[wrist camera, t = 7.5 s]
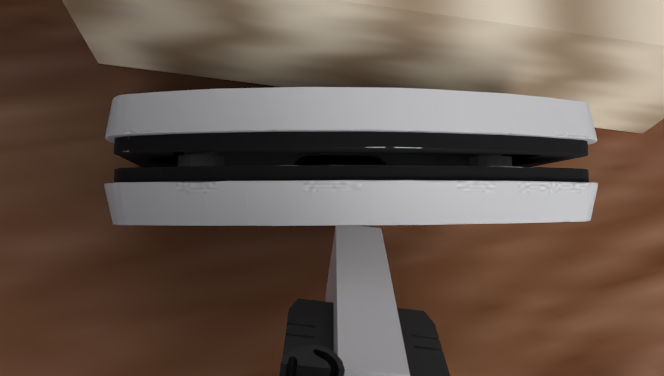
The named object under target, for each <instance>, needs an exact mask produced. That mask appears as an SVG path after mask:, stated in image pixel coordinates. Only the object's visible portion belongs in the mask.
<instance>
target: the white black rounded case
mask: <svg viewBox="0 0 664 376" xmlns="http://www.w3.org/2000/svg"><path fill="white" fill-rule="evenodd" d="M105 139H106V140H107V141H109V142H111V143H113V144H114V153H115V154H117V155H119V156H121V157H123V158H125V159H127V160H129V161H131V162H133V163H135V164H137V165H139V166H141V167H140V168H119V169H115V174H114V183H106V184H104V187H105V192H106V196H107V200H108V205H109V209H110V213H111V218H112V222H113V224H114V225H180V226H332V225H440V224H494V223H541V222H579V221H590V220H591V215H592V210H593V206H594V201H595V197H596V192H597V187H598V183H594V182H589V176H588V170H587V169H573V168H545V167H533V166H538V165H543V164H548V163H553V162H558V161H564V160H569V159H574V158H579V157H584V156H587V155H588V144H592V143H595V142H596V141H597V137H596V132H595V128H594V124H593V120H592V116H591V111H590V107H589V104H587V103H585V102H581V101H573V100H565V99H556V98H548V97H538V96H528V95H517V94H507V93H490V92H473V91H456V90H440V89H416V88H378V87H274V88H227V89H202V90H183V91H166V92H151V93H136V94H124V95H118V96H116V97H114V98H113V100H112V105H111V110H110V115H109V120H108V125H107V130H106V135H105ZM305 156H372V157H374V158H376V159H378V160H380V161H381V163H382V164H383V165H293V164H294V163H295V162H296V161H297V160H298V159H299V158H302V157H305Z"/></svg>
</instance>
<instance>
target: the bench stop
mask: <svg viewBox="0 0 664 376" xmlns="http://www.w3.org/2000/svg"><path fill="white" fill-rule="evenodd" d="M62 2H63V3H64V5H65V7H66V9H67V10H68V12H69V14H70V15H71V17H72V19H73V21H74V22H75V24H76V26H77V28H78V29H79V31H80V33H81V34H82V36H83V38H84V40H85V41H86V43H87V45H88V47H89V48H90V50H91V52H92V53H93V55H94V57H95V59H96V60H97V62H98V63H99V64H107V65H115V66H123V67H130V68H138V69H146V70H154V71H161V72H169V73H177V74H185V75H192V76H200V77H208V78H216V79H223V80H231V81H239V82H247V83H254V84H262V85H270V86H278V87H378V88H416V89H440V90H456V91H473V92H490V93H507V94H517V95H528V96H538V97H548V98H556V99H565V100H573V101H581V102H585V103H587V104H589V107H590V111H591V116H592V120H593V124H594V127H596V128H603V129H611V130H619V131H627V132H634V133H644V132H645V131H647V130H648V129H650V128H651V127H652V126H654V125H655V124H657V123H658V122H660V121H661V120H662V119H664V0H62Z"/></svg>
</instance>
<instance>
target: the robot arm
mask: <svg viewBox="0 0 664 376" xmlns="http://www.w3.org/2000/svg"><path fill="white" fill-rule="evenodd" d="M438 338H439V337H438V334H437V330H436V327H435V324H434V323H433V321H432V320H431V319H430V318H429V317H428V315H427V314H426V313H425V312H424V311H419V310H409V309H400V308H397V306H396V301H395V296H394V291H393V286H392V280H391V275H390V270H389V265H388V260H387V255H386V250H385V245H384V240H383V235H382V230H381V228H374V227H366V226H357V225H336V226H335V233H334V240H333V247H332V253H331V260H330V267H329V274H328V280H327V287H326V302H324V301H314V300H305V299H297V301H296V302H295V303H294V304H293V305H292V307H291V308H290V309H289V313H288V321H287V329H286V336H285V344H284V351H283V359H282V362H281V368H280V376H450V374H449V371H448V367H447V364H446V361H445V357H444V354H443V351H442V347H441V344H440V341H439V340H438Z"/></svg>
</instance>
